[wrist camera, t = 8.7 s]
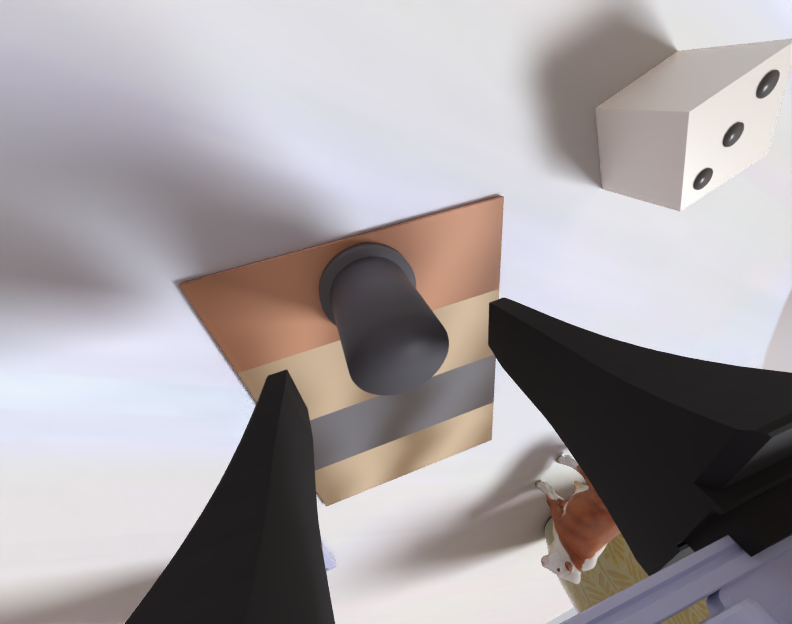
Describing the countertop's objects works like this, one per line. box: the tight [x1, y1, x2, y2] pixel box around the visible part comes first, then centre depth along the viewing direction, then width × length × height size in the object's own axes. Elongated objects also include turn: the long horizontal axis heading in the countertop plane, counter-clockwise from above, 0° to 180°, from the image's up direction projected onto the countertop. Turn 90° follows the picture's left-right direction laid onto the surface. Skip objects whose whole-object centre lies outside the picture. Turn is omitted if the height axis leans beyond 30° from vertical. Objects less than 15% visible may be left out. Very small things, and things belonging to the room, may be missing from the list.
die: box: [595, 39, 792, 211], centre depth 13 cm, size 4×4×4 cm
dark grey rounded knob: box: [319, 242, 449, 396], centre depth 13 cm, size 4×4×5 cm
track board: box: [179, 196, 504, 506], centre depth 19 cm, size 14×20×1 cm
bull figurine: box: [535, 455, 621, 584], centre depth 32 cm, size 4×13×8 cm, turn 154°
